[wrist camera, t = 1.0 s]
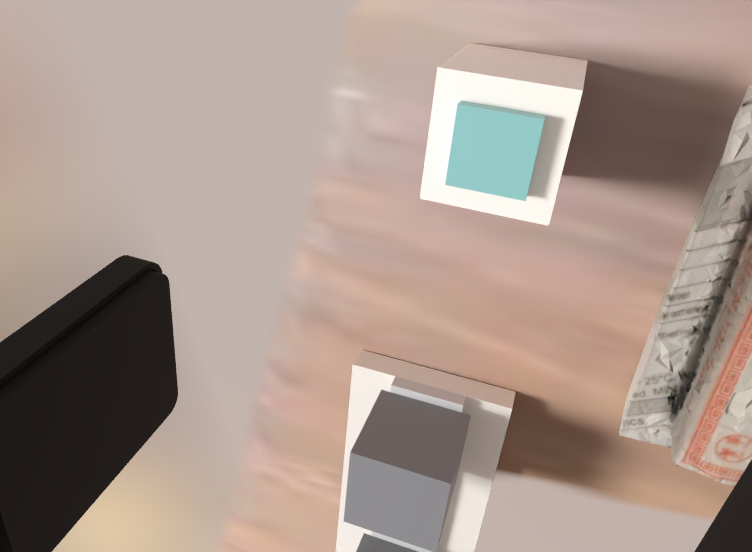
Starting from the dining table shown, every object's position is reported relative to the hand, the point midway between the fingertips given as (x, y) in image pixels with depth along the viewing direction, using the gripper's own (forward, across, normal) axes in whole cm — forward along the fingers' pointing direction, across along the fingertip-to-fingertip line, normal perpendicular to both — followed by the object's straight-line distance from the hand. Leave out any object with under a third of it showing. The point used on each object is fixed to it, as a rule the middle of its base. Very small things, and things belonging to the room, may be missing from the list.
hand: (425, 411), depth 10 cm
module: (+21, +1, +1) cm, 21 cm away
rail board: (+20, +2, +25) cm, 32 cm away
